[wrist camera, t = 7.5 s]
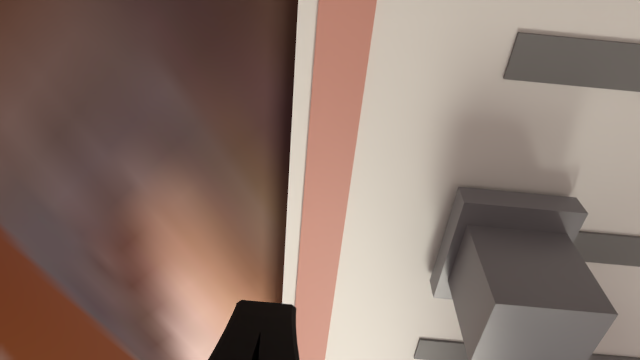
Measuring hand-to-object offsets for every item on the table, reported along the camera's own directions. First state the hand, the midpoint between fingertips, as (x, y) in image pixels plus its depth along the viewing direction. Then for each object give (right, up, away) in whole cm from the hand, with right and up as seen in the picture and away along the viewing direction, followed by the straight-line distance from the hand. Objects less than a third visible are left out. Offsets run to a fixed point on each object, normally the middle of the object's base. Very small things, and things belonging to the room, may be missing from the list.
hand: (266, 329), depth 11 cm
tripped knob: (+7, +2, +4) cm, 8 cm away
